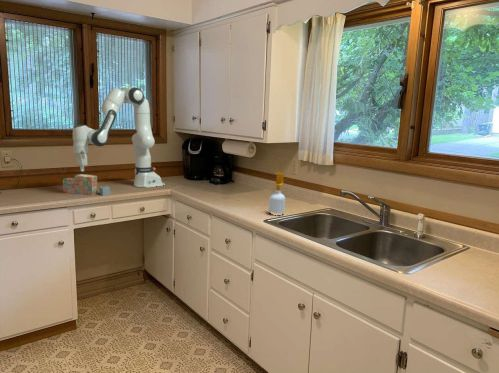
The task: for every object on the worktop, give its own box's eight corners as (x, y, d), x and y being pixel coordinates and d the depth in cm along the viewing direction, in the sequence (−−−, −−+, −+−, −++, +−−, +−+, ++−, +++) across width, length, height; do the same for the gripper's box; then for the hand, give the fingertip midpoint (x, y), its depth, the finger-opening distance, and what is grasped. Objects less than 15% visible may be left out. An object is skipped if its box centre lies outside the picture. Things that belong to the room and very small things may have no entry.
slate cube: (106, 193, 260) (106, 185, 259) (110, 194, 257) (109, 186, 256) (99, 194, 256) (98, 186, 255) (102, 195, 253) (102, 187, 252)
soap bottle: (266, 214, 224) (269, 172, 219) (271, 211, 232) (273, 170, 227) (281, 216, 221) (284, 174, 216) (286, 213, 229) (288, 172, 224)
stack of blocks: (62, 192, 256) (61, 174, 253) (68, 191, 262) (68, 173, 260) (92, 195, 252) (91, 176, 250) (97, 193, 258) (97, 175, 256)
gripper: (89, 151, 245) (90, 173, 248) (83, 148, 262) (84, 168, 265) (78, 152, 242) (79, 173, 245) (73, 148, 259) (74, 169, 261)
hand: (82, 171), depth 255 cm, fingers closed
